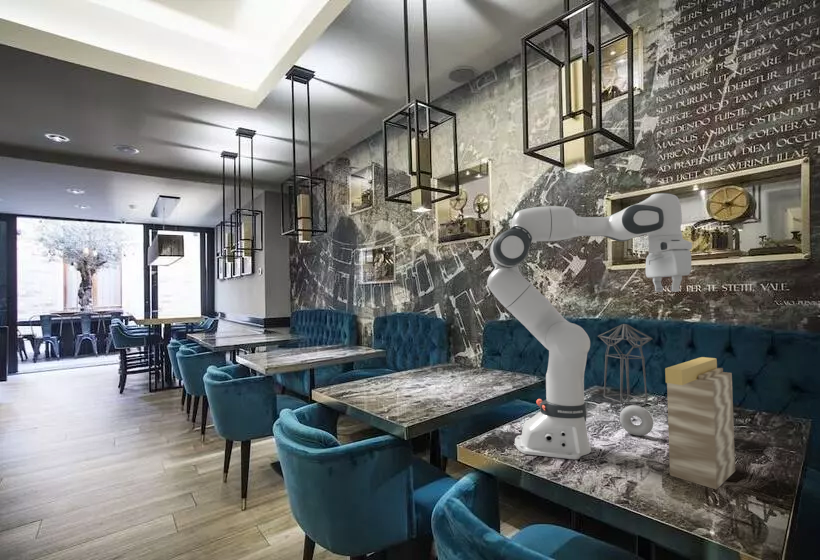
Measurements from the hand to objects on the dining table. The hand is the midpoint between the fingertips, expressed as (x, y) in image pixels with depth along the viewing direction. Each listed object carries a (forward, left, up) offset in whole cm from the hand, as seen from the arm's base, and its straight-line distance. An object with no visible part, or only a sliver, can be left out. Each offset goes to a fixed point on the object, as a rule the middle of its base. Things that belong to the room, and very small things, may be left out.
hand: (666, 291), depth 123 cm
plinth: (0, -15, -48) cm, 50 cm away
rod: (-3, -19, -22) cm, 29 cm away
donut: (-5, +13, -48) cm, 50 cm away
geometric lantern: (+4, +44, -48) cm, 65 cm away
